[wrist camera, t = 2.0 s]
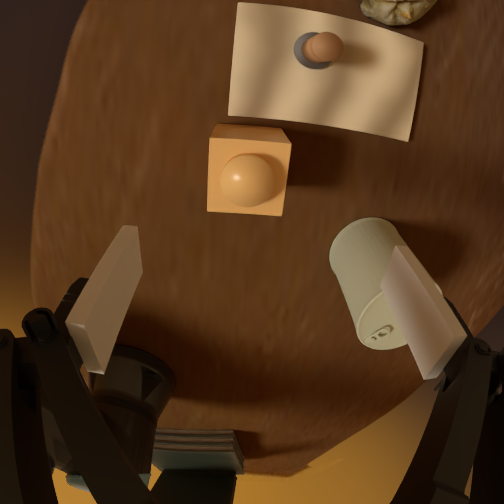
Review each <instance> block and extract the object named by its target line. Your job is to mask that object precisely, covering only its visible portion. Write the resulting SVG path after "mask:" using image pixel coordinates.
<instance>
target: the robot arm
mask: <svg viewBox="0 0 504 504" xmlns="http://www.w3.org/2000/svg"><path fill="white" fill-rule="evenodd" d="M142 273H143V270H142V262H141V254H140V245H139V236H138V226H126V225H123V226H122V228H121V229H120V231H119V232H118V234H117V235H116V237H115V238H114V240H113V241H112V243H111V244H110V246H109V248H108V249H107V251H106V252H105V254H104V255H103V257H102V259H101V260H100V262H99V263H98V265H97V267H96V268H95V270H94V272H93V273H92V275H91V277H90V278H79V279H78V280H76V281H75V282H74V283H73V284H72V285H71V286H70V288H69V289H68V291H67V293H66V294H65V296H64V298H63V299H62V301H61V303H60V304H59V306H58V308H57V309H56V311H55V313H54V314H53V312H52V311H51V310H50V309H48V308H41V307H40V308H36V309H33V310H32V311H30V312H29V313H27V314H26V315H25V317H24V318H23V320H22V328H23V330H24V332H25V334H26V336H27V337H20V338H15V337H14V335H13V333H12V332H11V331H10V330H8V329H0V504H58V500H57V496H56V493H55V488H54V484H53V480H52V474H53V471H54V468H57V469H59V470H61V471H64V472H65V473H67V475H66V480H67V483H68V484H69V485H71V486H73V487H76V488H78V489H81V490H85V491H88V492H91V494H92V496H93V497H94V499H95V501H96V503H97V504H159V502H158V501H157V500H156V498H155V497H154V496H153V494H152V493H151V492H150V490H149V489H148V483H149V479H150V476H151V473H150V471H151V463H152V456H153V448H154V441H155V434H156V427H157V421H158V418H159V417H160V415H161V413H162V411H163V410H164V408H165V406H166V405H167V403H168V401H169V400H170V398H171V396H172V393H173V389H174V382H175V380H174V376H173V374H172V372H171V370H170V369H169V368H168V367H167V366H166V365H165V364H164V363H163V362H162V361H160V360H159V359H157V358H156V357H154V356H152V355H150V354H148V353H146V352H144V351H141V350H138V349H135V348H132V347H127V346H120V345H114V344H115V342H116V339H117V336H118V333H119V331H120V328H121V325H122V323H123V320H124V317H125V315H126V312H127V310H128V307H129V305H130V302H131V300H132V297H133V295H134V292H135V290H136V287H137V285H138V282H139V280H140V278H141V275H142ZM380 287H381V289H382V291H383V293H384V295H385V297H386V299H387V301H388V303H389V305H390V307H391V309H392V311H393V313H394V315H395V317H396V319H397V321H398V324H399V326H400V328H401V330H402V332H403V334H404V336H405V338H406V341H407V343H408V345H409V347H410V349H411V352H412V354H413V356H414V358H415V361H416V363H417V365H418V367H419V370H420V372H421V375H422V377H423V379H424V380H426V379H432V378H437V376H438V375H439V374H440V373H441V371H442V370H443V369H444V372H445V374H446V375H445V376H444V378H443V379H442V380H441V382H440V383H439V384H438V385H437V386H436V387H435V389H434V390H435V391H436V390H437V389H438V388H439V387H440V389H439V392H438V395H437V398H436V401H435V404H434V407H433V410H432V413H431V416H430V418H429V421H428V423H427V426H426V429H425V431H424V434H423V436H422V439H421V441H420V444H419V446H418V449H417V451H416V453H415V455H414V458H413V460H412V462H411V464H410V466H409V468H408V470H407V473H406V475H405V477H404V479H403V481H402V483H401V484H400V486H399V488H398V490H397V492H396V494H395V496H394V498H393V500H392V501H391V502H390V504H504V347H503V349H502V350H501V351H500V352H497V351H492V350H491V348H490V346H489V345H488V344H487V343H486V342H485V341H483V340H481V339H478V338H474V337H473V335H472V334H471V332H470V330H469V329H468V327H467V325H466V324H465V322H464V321H463V319H461V316H460V314H459V313H457V310H456V308H455V307H454V305H453V304H452V303H451V302H450V301H449V300H448V299H447V298H446V297H443V296H442V295H441V293H440V292H439V290H438V289H437V287H436V286H435V284H434V283H433V281H432V280H431V278H430V277H429V276H428V274H427V273H426V271H425V270H424V269H423V267H422V266H421V264H420V263H419V262H418V260H417V259H416V258H415V256H414V255H413V254H412V252H411V251H410V250H409V248H408V247H407V246H399V245H395V248H394V251H393V253H392V256H391V259H390V262H389V264H388V267H387V269H386V272H385V275H384V277H383V280H382V282H381V285H380ZM82 363H83V364H84V366H85V368H86V370H87V371H89V389H88V387H87V385H86V383H85V381H84V379H83V376H82V374H81V372H80V368H81V366H82ZM501 386H502V392H501V394H498V389H500V387H501ZM473 462H474V463H473ZM472 465H473V475H472V484H471V492H470V499H469V497H468V496H466V495H465V494H464V491H465V487H466V484H467V481H468V478H469V475H470V472H471V468H472Z"/></svg>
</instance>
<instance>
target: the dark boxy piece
mask: <svg viewBox="0 0 504 504" xmlns="http://www.w3.org/2000/svg"><path fill="white" fill-rule="evenodd" d="M152 464H153V465H154V466H155V467H157V468H158V469H159V470H160V471H162V473H161V475H160V476H159V478H158V480H157V481H156V483H155V484H154V486H153V488H152V489H151V491H150V492H151V493H152V494H153V496H154V497H155V498H156V500H157V501H158V502H159V504H233V498H234V492H235V486H236V480H237V477H236V475H243V474H244V456H243V454H242V452H241V449H240V447H239V444H238V441H237V439H236V436H235V433H234V430H233V429H232V430H186V429H164V428H156V434H155V441H154V448H153V456H152Z"/></svg>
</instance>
